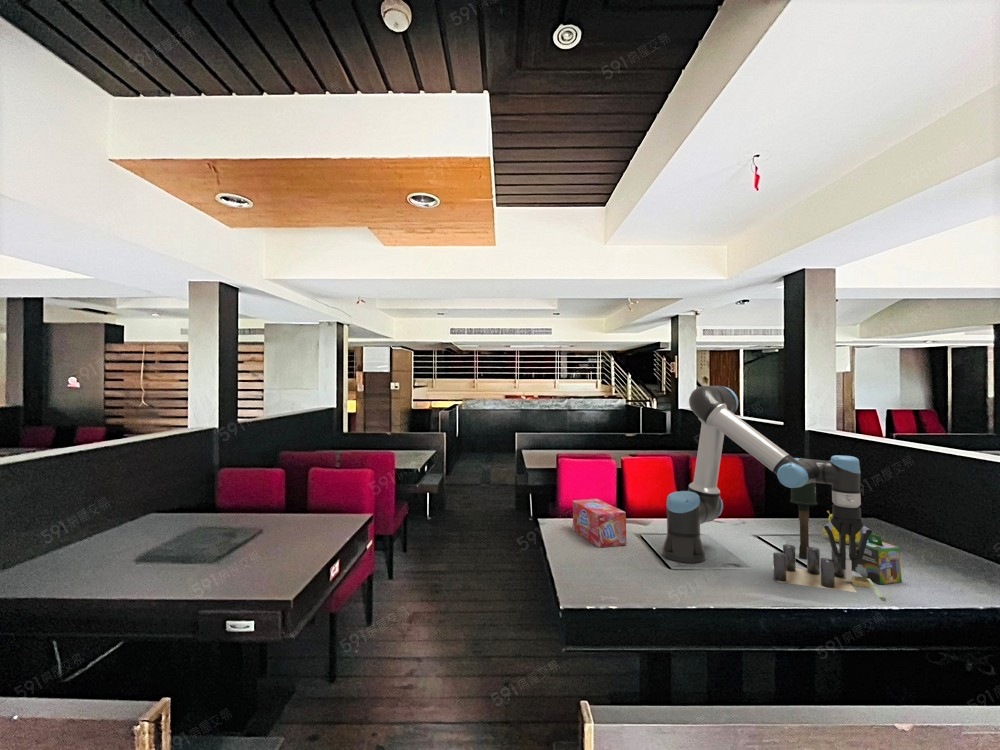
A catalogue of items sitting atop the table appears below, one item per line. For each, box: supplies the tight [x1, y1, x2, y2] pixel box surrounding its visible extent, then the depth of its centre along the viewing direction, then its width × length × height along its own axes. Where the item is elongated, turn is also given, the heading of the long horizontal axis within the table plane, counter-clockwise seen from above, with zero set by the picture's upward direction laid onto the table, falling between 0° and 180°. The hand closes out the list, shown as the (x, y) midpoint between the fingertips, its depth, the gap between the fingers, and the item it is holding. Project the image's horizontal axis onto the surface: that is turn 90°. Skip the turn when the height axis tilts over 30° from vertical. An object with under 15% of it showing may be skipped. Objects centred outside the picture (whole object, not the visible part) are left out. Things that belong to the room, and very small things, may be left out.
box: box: [572, 498, 627, 548], centre depth 209 cm, size 27×13×14 cm, turn 14°
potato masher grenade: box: [789, 482, 818, 560], centre depth 180 cm, size 8×9×30 cm
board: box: [771, 564, 887, 602], centre depth 158 cm, size 28×16×1 cm, turn 66°
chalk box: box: [854, 533, 903, 586], centre depth 162 cm, size 9×9×15 cm
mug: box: [822, 510, 861, 545], centre depth 203 cm, size 13×11×12 cm
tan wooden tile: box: [849, 575, 871, 589], centre depth 154 cm, size 4×4×2 cm
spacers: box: [772, 544, 844, 589], centre depth 159 cm, size 22×15×8 cm
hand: (848, 579), depth 155 cm, fingers closed
